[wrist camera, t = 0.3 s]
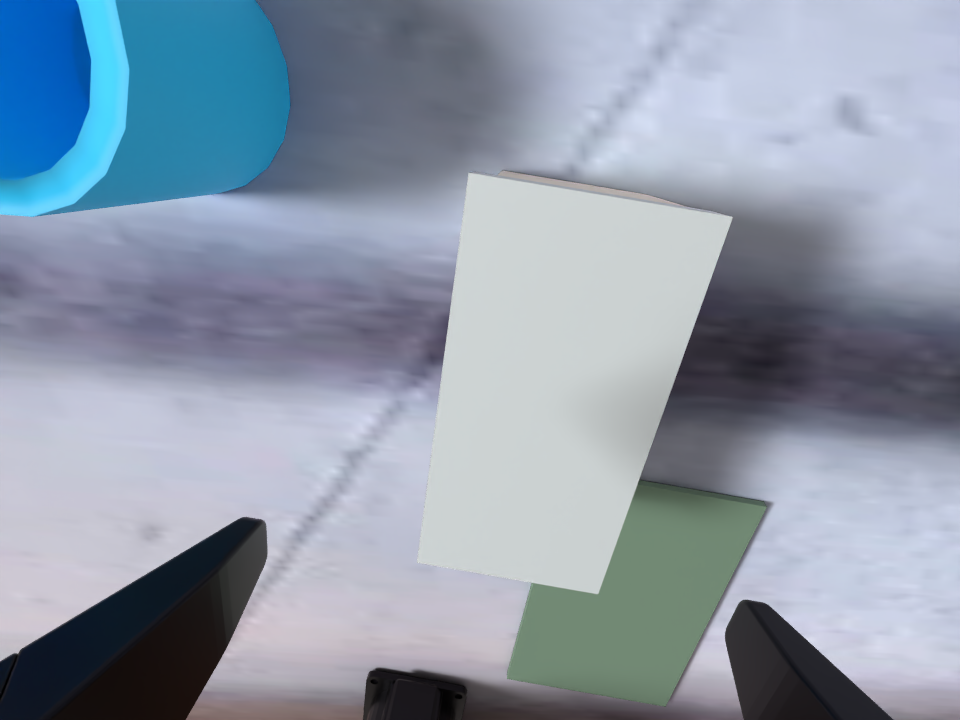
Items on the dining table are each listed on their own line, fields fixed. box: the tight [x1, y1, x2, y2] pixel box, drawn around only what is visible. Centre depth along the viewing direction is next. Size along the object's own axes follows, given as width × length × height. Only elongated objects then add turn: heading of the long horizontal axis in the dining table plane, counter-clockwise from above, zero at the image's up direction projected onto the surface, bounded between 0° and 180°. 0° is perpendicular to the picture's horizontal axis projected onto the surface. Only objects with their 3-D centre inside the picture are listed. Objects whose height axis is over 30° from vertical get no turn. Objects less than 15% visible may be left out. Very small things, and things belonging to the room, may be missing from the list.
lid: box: [417, 171, 733, 594], centre depth 16 cm, size 14×7×2 cm, turn 171°
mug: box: [0, 0, 291, 217], centre depth 14 cm, size 12×8×8 cm
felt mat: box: [507, 480, 767, 707], centre depth 26 cm, size 16×10×1 cm, turn 171°
